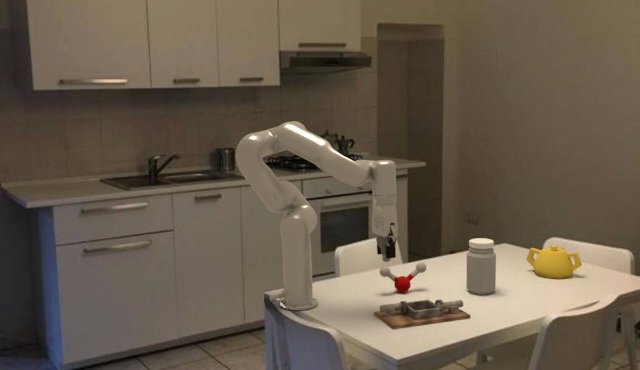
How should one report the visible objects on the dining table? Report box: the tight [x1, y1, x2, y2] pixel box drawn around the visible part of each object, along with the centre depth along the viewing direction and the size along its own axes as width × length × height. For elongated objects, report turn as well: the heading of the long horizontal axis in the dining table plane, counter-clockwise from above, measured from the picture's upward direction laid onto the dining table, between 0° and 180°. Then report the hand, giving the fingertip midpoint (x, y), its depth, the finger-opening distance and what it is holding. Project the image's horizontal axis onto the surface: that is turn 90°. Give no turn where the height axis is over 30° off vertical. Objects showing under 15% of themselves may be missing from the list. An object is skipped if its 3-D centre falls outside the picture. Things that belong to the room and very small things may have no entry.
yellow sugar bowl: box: [526, 244, 582, 280], centre depth 267 cm, size 20×18×11 cm
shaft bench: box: [373, 299, 471, 330], centre depth 221 cm, size 26×14×5 cm, turn 109°
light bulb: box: [375, 234, 392, 263], centre depth 225 cm, size 6×6×10 cm
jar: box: [465, 237, 497, 296], centre depth 245 cm, size 10×10×18 cm
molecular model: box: [379, 261, 427, 293], centre depth 247 cm, size 18×6×10 cm, turn 117°
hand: (386, 255), depth 226 cm, fingers closed on light bulb, 5 cm apart
